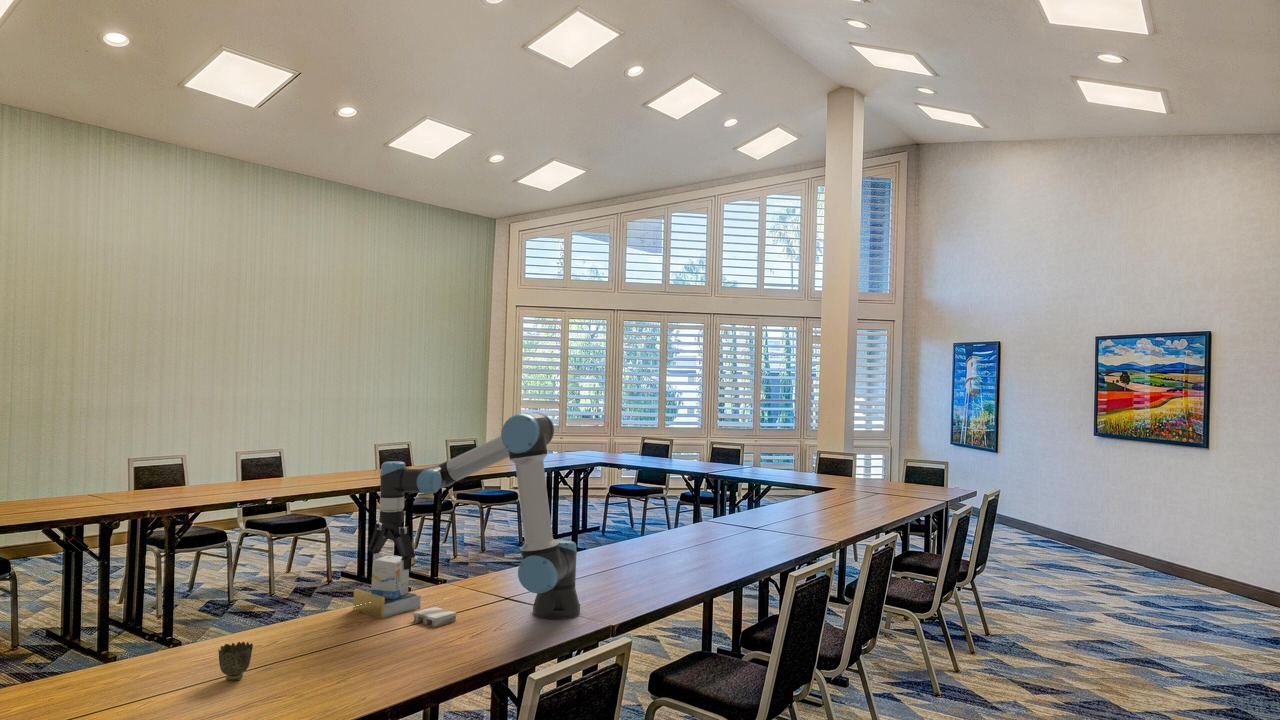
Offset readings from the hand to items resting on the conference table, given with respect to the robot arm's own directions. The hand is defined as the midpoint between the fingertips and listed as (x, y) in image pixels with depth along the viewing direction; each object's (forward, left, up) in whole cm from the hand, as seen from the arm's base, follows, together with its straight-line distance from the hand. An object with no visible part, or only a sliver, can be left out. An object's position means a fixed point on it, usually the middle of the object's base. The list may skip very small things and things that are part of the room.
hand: (390, 576), depth 248 cm
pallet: (-21, -1, -10) cm, 23 cm away
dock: (0, 0, -10) cm, 10 cm away
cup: (-20, +60, -10) cm, 64 cm away
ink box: (0, 0, -6) cm, 6 cm away
